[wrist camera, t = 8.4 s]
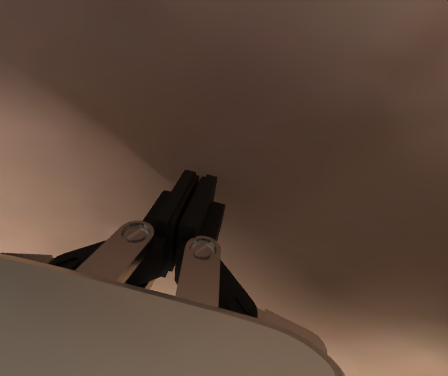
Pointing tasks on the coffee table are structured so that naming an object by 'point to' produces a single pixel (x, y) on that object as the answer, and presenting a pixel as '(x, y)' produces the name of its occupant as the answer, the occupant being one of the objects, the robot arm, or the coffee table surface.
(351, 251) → the coffee table surface
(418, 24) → the coffee table surface
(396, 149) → the coffee table surface
